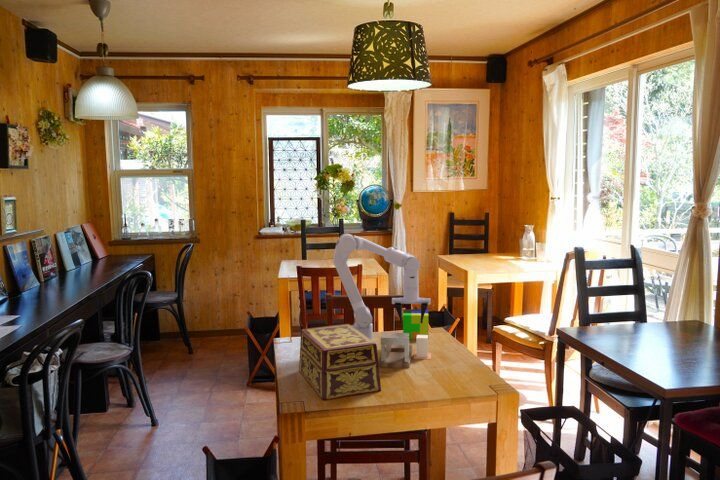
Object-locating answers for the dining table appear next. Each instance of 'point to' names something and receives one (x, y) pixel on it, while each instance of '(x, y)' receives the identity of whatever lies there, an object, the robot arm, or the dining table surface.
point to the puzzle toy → (415, 323)
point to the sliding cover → (394, 343)
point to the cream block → (422, 345)
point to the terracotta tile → (422, 357)
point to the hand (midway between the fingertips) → (411, 322)
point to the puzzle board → (396, 356)
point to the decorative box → (339, 361)
